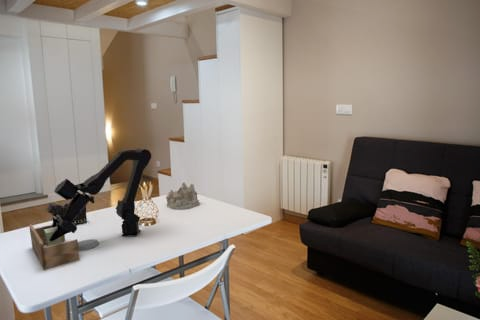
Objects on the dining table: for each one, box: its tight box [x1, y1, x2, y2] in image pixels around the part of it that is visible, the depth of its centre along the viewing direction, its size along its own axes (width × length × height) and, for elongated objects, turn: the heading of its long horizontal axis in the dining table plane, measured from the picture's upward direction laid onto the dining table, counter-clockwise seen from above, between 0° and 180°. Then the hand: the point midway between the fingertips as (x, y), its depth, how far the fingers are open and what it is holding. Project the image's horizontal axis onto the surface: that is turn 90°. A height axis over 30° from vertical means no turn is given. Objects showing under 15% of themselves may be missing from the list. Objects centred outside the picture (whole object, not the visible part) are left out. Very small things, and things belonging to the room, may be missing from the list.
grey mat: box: [78, 239, 100, 251], centre depth 154 cm, size 10×10×1 cm
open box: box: [28, 224, 81, 270], centre depth 146 cm, size 12×25×10 cm, turn 37°
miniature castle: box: [165, 181, 201, 211], centre depth 204 cm, size 16×16×15 cm
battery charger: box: [74, 205, 88, 226], centre depth 179 cm, size 7×4×11 cm, turn 126°
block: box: [44, 227, 63, 247], centre depth 146 cm, size 5×5×10 cm
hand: (49, 238), depth 145 cm, fingers closed on block, 5 cm apart
